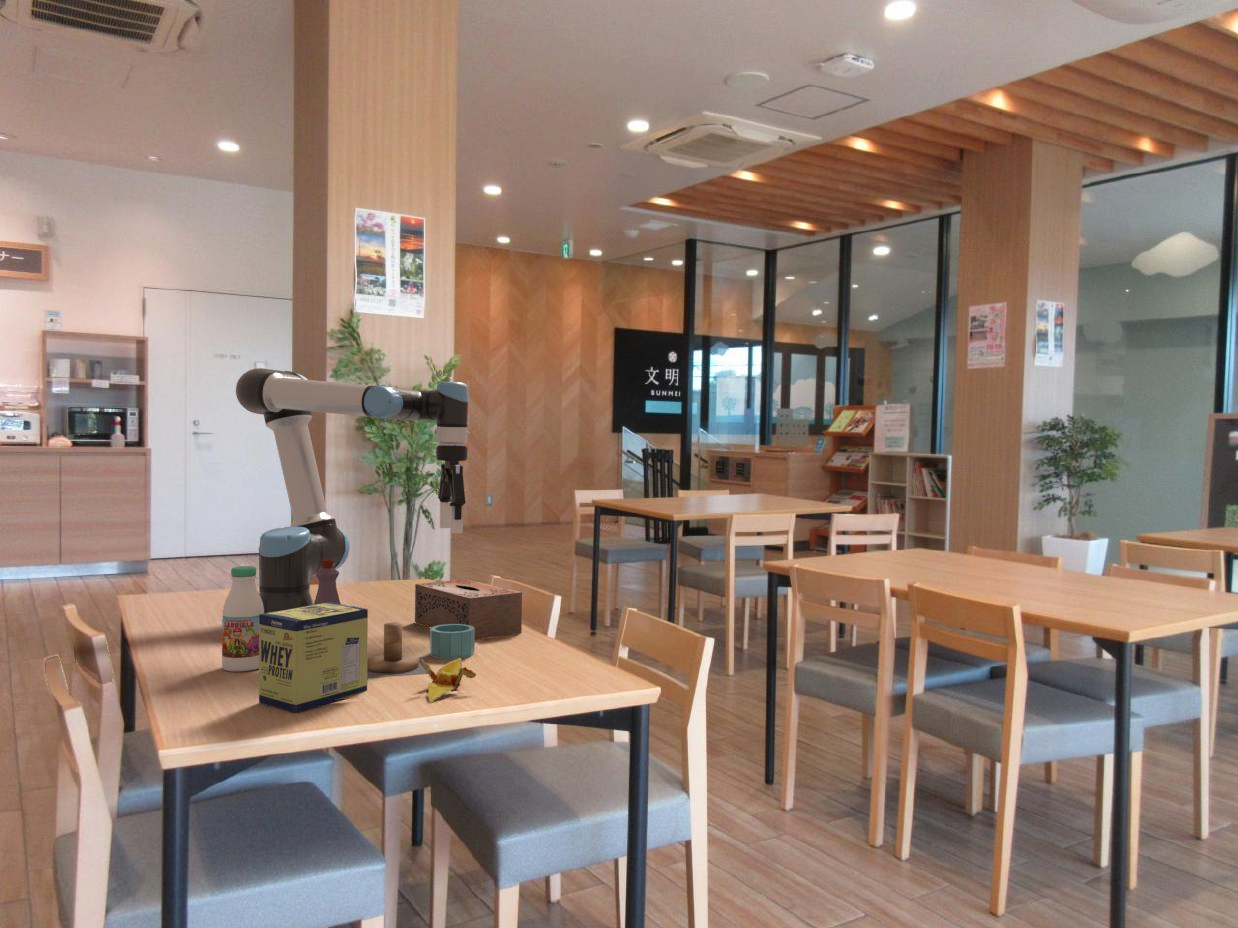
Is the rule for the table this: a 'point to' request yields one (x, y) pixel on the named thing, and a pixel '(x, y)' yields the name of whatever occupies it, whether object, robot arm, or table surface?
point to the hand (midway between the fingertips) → (450, 530)
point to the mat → (413, 672)
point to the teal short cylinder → (452, 641)
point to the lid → (392, 653)
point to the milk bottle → (241, 622)
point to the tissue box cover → (469, 607)
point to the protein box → (312, 655)
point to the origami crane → (445, 678)
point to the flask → (327, 583)
